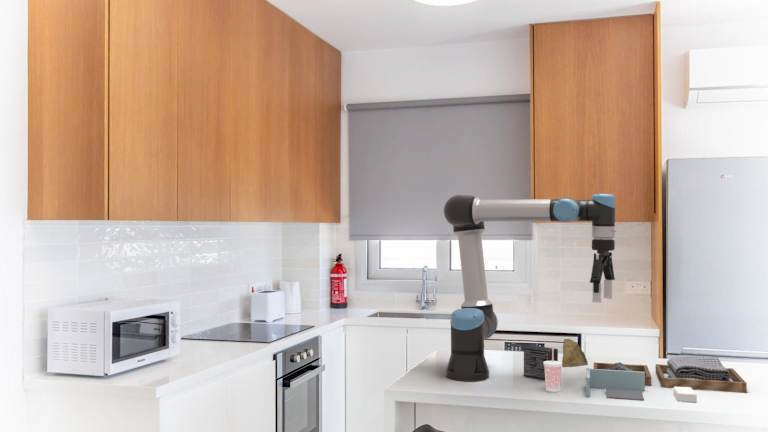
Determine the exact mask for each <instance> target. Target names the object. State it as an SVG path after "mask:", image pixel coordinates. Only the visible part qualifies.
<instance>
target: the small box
mask: <svg viewBox="0 0 768 432" xmlns="http://www.w3.org/2000/svg"><path fill="white" fill-rule="evenodd" d="M558 350H559V349H558V348H554V361H559V360H558V358H559V357H558V355H559V351H558ZM544 361H552V347H546V346H540V345H529V346H524V347H523V377H524V376H525V377H524V378H530V379H536V380H542V381H545V368H544V363H543V362H544Z"/></svg>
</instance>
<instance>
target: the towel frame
mask: <svg viewBox="0 0 768 432" xmlns="http://www.w3.org/2000/svg"><path fill="white" fill-rule="evenodd" d="M668 368H670V367H669V366H668V364H658V363H657V364H655V374H656V375H655V376H657V380H658V382H659V384H660V386H661V388H669V389H673V388H674V387H675V386H676V387H691V388H692V389H693V390H697V389H700V390H701V391H713V392H714V391H716V392H730V393H731V392H732V393H744V394H746V393H747V391H748V390H747V389H748V387H747V386H748V385H747V382H746V381H745V379H743V378H742V376H740V375H739V373H738V372H737V371H736V370H735V369H734V368H728V367H725V368H726V369H727V370H728V371H729V373H730V374H729V375H730V380H731V381H733V382H730V381H714V380H697V379H681V378H670V377H666V376H665V374H666V375H668V373H667V369H668ZM700 390H699V391H700Z"/></svg>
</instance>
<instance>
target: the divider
mask: <svg viewBox="0 0 768 432" xmlns="http://www.w3.org/2000/svg"><path fill="white" fill-rule="evenodd" d="M585 371H586V372H585V397H586V398H591V388H592V389H593V388H594V389H604V390H606V388H609V389H624V390H640V391H642V392H645V391H646V385H645V372H639V371H622V370H605V369H594V368H585Z"/></svg>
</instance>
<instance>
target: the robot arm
mask: <svg viewBox="0 0 768 432" xmlns="http://www.w3.org/2000/svg"><path fill="white" fill-rule="evenodd" d="M443 215H444V218H445V220H446V222H447V223H448V224H449V225H452V229H453V234H454V235H455V236H456V237H457V238H458V246H459V259H460V268H461V278H462V287H463V296H464V300H463V302H462V304H460V307H461V308H457V309H456V310H454V311H452V313H451V316H450V357H449V360H448V363H447V366H446V368H445V376H446V378H448V379H451V380H454V381H460V382H461V381H462V382H478V381H479V382H480V381H484V380H487V379H489V378H490V370H489V367H488V363H487V360H486V357H485V340H488V339H490V338H491V337H492V336H493V335H494V334H495V333H496V330H497V328H498V324H499V320H498V317H497V314H496V313H495V312H494V307H493V302H492V301H491V300H490V299H489V298H488V296H489V295H488V289H487V278H486V269H485V259H484V251H483V240H482V234H484V233H483V232H485V229H486V228H485V222H562V223H563V222H564V223H569V222H591V223H592V224H591V238H593V239H591V250H592V251H597V252H596V253H593V261H592V270H591V277H590V279H589V283H592V303H598V304H601V303H602V283H601V281H602V276H604V279H603V299H608V300H609V299H610V300H611V299H613V281H615V279H616V277H615V273H614V264H613V253H612V251H615V244H616V242H615V240H614V238H615V234H616V232H617V229H615V228H616V227H615V226H616V224H615V222H616V200H615V196H614V194H611V193H598V194H597V193H595V194H592V196H591V199H571V198H554V199H553V198H552V199H551V198H546V199H545V198H544V199H543V198H541V199H538V198H534V199H531V198H530V199H529V198H528V199H480V198H479V197H478V196H474V195H471V194H470V195H467V194H465V195H462V194H457V195H453V196H451V197H449V198H448V199H447V201H445V204H444V206H443Z"/></svg>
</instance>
